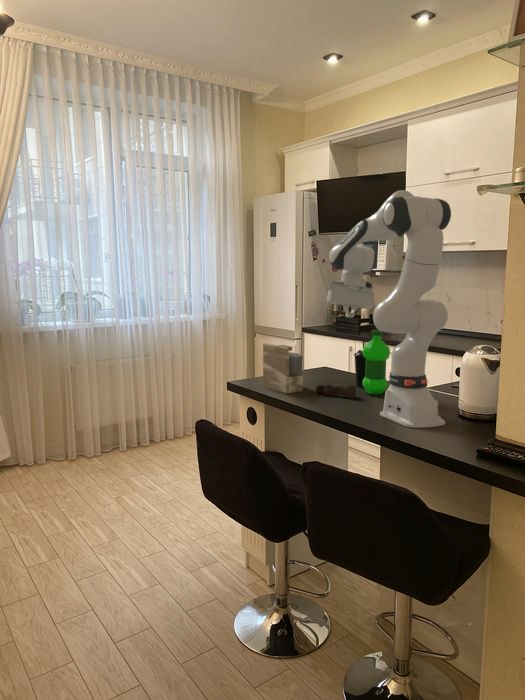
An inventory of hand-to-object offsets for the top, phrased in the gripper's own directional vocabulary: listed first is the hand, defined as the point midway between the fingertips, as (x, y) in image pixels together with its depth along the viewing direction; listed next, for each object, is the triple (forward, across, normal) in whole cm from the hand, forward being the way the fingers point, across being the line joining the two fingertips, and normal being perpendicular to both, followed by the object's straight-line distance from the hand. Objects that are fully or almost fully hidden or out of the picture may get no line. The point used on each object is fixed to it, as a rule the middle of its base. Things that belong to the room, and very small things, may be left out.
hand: (349, 317), depth 216 cm
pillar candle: (+30, -17, +14) cm, 38 cm away
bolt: (+32, -6, -4) cm, 33 cm away
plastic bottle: (+30, +10, -7) cm, 32 cm away
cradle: (+31, -21, +13) cm, 40 cm away
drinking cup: (+28, +11, +5) cm, 30 cm away
